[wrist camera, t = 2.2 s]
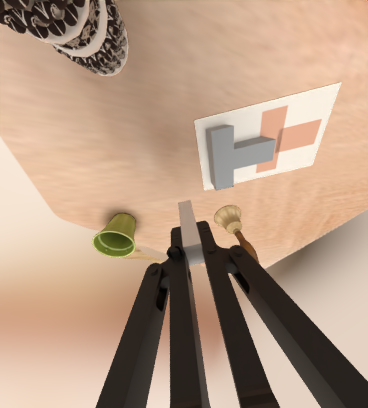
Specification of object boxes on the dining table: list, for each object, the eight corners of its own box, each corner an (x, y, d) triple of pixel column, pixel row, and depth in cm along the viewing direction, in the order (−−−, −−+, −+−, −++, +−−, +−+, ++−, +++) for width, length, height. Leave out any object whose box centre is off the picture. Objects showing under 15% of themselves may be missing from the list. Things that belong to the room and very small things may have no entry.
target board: (193, 120, 26) (194, 120, 26) (340, 82, 25) (341, 82, 24) (204, 190, 35) (204, 190, 35) (311, 165, 34) (312, 165, 33)
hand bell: (230, 200, 37) (264, 246, 24) (245, 214, 41) (281, 261, 28) (208, 217, 40) (227, 267, 27) (224, 229, 44) (248, 278, 31)
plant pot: (122, 236, 41) (112, 262, 34) (99, 216, 36) (81, 241, 29) (147, 225, 40) (142, 249, 33) (127, 202, 35) (116, 225, 28)
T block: (205, 129, 27) (211, 131, 23) (264, 114, 26) (280, 113, 22) (210, 182, 33) (216, 190, 30) (258, 171, 33) (269, 178, 29)
